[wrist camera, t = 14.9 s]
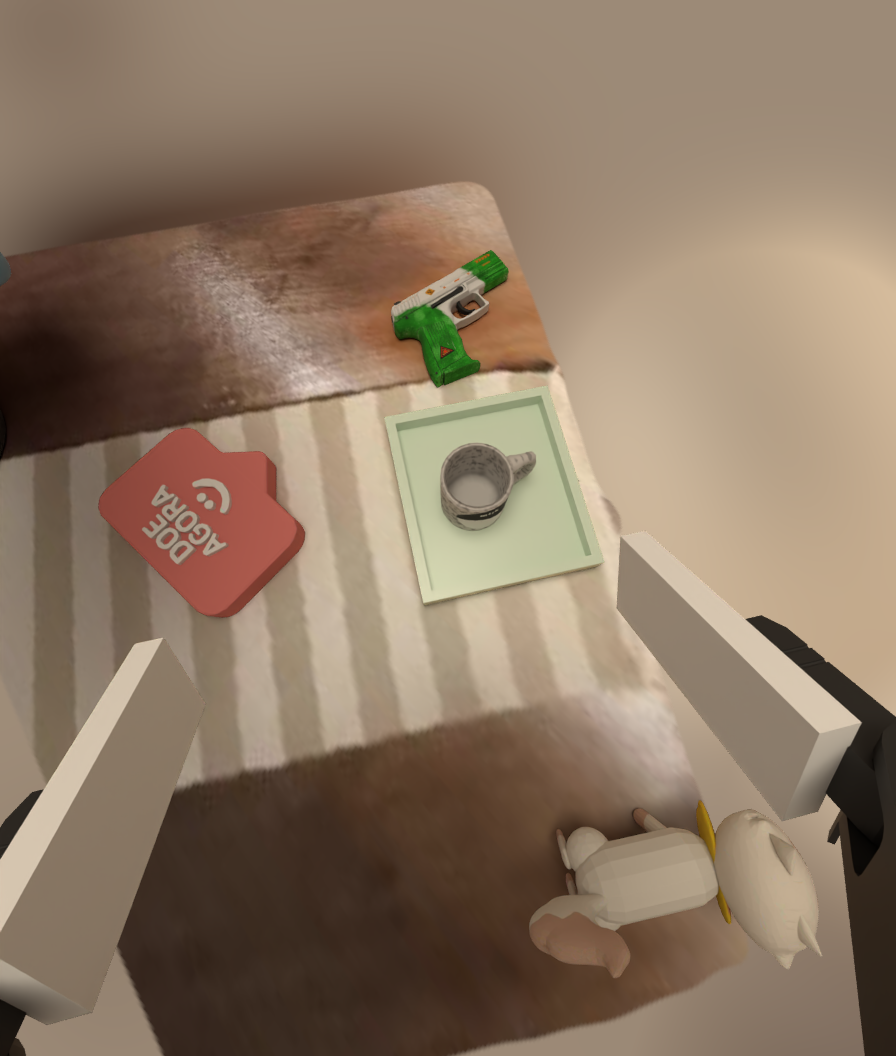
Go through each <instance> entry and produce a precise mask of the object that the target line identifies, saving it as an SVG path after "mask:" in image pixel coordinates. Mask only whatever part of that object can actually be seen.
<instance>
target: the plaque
mask: <svg viewBox="0 0 896 1056" xmlns="http://www.w3.org/2000/svg"><path fill="white" fill-rule="evenodd" d="M98 508H99V511H100V514H101V516H102V517H103V518H104V519H105V520H106V521H107V522H108V523H109V524H110V525H111V526H112V527H113V528H114V529H115V530H116V531H117V532H118V533H119V534H120V535H121V536H122V537H123V538H124V539H125V540H126V541H127V542H128V543H129V544H130V545H131V546H132V547H133V548H134V549H135V550H136V551H137V552H138V553H139V554H140V555H141V556H142V557H143V558H144V559H145V560H146V561H147V562H148V563H149V564H150V565H151V566H152V567H153V568H154V569H155V570H156V571H157V572H158V573H159V574H160V575H161V576H162V577H163V578H164V579H165V580H166V581H167V582H168V583H169V584H170V585H171V586H172V587H173V588H174V589H175V590H176V591H177V592H178V593H179V594H180V595H181V596H182V597H183V598H184V599H185V600H186V601H187V602H188V603H189V604H190V605H191V606H192V607H193V608H194V609H195V610H196V611H197V612H200V613H202V614H204V615H207V616H214V617H229V616H232V615H234V614H236V613H237V612H238V611H240V610H241V609H242V608H243V607H244V606H245V605H246V604H247V603H248V602H249V601H250V600H251V599H252V598H253V597H254V596H255V595H256V594H257V593H258V592H259V591H260V590H261V589H262V588H263V587H264V586H265V585H266V584H267V583H268V582H269V581H270V580H271V579H272V578H273V577H274V576H275V575H276V574H277V573H278V572H279V571H280V570H281V569H282V568H283V567H284V566H285V565H286V564H287V563H288V561H289V560H290V559H291V558H292V557H293V556H294V555H295V554H296V553H297V552H298V551H299V550H300V548H301V547H302V545H303V542H304V539H305V531H304V529H303V527H302V525H301V524H300V523H299V522H298V521H296V520H295V519H294V518H293V517H292V516H291V515H290V514H289V513H288V512H287V511H286V510H285V509H284V508H282V507H281V506H280V505H279V504H278V503H277V502H276V467H275V465H274V464H273V463H272V461H271V460H270V459H269V458H268V457H267V456H266V455H265V454H264V453H263V452H260V451H254V452H232V453H222V452H220V451H219V450H218V449H217V448H216V447H214V446H213V445H212V444H211V443H210V442H209V441H208V440H207V439H205V438H204V437H203V436H202V435H201V434H200V433H199V432H197V431H196V430H194V429H191V428H182V429H178V430H175V431H173V432H172V433H170V434H168V435H167V436H166V437H165V438H164V439H163V440H162V441H160V442H159V443H158V444H157V445H156V446H155V447H154V448H152V449H151V450H150V451H149V452H148V453H147V454H146V455H144V456H143V457H142V458H141V459H140V460H139V461H137V462H136V463H135V464H134V465H133V466H132V467H131V468H129V469H128V470H127V471H126V472H125V473H124V474H123V475H121V476H120V477H119V478H118V479H117V480H116V481H115V482H113V483H112V484H111V485H110V486H109V487H108V488H107V489H106V490H105V491H104V492H103V494H102V495H101V497H100V500H99V506H98Z"/></svg>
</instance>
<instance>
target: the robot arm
mask: <svg viewBox="0 0 896 1056" xmlns="http://www.w3.org/2000/svg"><path fill="white" fill-rule="evenodd" d="M10 275H11V269H10V266H9V264H8V262H7V260H6V259H5V257H4V256H3V255H2V254H1V252H0V286H1V285H3V284H4V283H6V282H7V281H8V279H9V278H10ZM5 434H6V429H5V421H4V418H3V415H2V412H1V410H0V455H1V453H2V450H3V447H4V442H5ZM617 609H618V611H619V612H620V613H621V614H622V616H623V617H624V618H625V620H626V621H627V622H628V623H629V625H630V626H631V627H632V629H633V630H634V631H635V632H636V634H637V635H638V636H639V638H640V639H641V640H642V641H643V643H644V644H645V645H646V647H647V648H648V649H649V650H650V652H651V653H652V654H653V656H654V657H655V658H656V659H657V661H658V662H659V663H660V665H661V666H662V667H663V668H664V670H665V671H666V672H667V674H668V675H669V676H670V678H671V679H672V680H673V681H674V683H675V684H676V685H677V686H678V688H679V689H680V690H681V692H682V693H683V694H684V696H685V697H686V698H687V699H688V701H689V702H690V703H691V705H692V706H693V707H694V708H695V710H696V711H697V712H698V713H699V715H700V716H701V717H702V719H703V720H704V721H705V723H706V724H707V725H708V726H709V728H710V729H711V730H712V732H713V733H714V734H715V735H716V736H717V738H718V739H719V741H720V742H721V743H722V745H723V746H724V747H725V748H726V750H727V751H728V752H729V754H730V755H731V756H732V757H733V759H734V760H735V761H736V763H737V764H738V765H739V766H740V768H741V769H742V770H743V772H744V773H745V774H746V775H747V777H748V778H749V779H750V780H751V782H752V783H753V784H754V786H755V787H756V788H757V790H758V791H759V792H760V793H761V795H762V796H763V797H764V799H765V800H766V801H767V802H768V804H769V805H770V806H771V807H772V809H773V810H774V811H775V813H776V814H777V815H778V817H779V818H780V819H781V820H782V821H785V820H789V819H792V818H796V817H800V816H803V815H807V814H810V813H814V812H818V810H819V808H820V806H821V804H822V802H823V800H824V798H825V796H826V794H827V795H828V796H829V797H830V798H831V799H832V801H833V802H834V803H835V804H836V805H837V806H838V807H839V808H840V809H841V810H840V812H839V814H838V816H837V818H836V820H835V822H834V823H833V825H832V827H831V829H830V831H829V836H828V841H827V842H830V843H832V844H835V843H836V841H837V839H838V838H839V836H840V839H841V849H842V857H843V865H844V875H845V884H846V893H847V902H848V911H849V919H850V928H851V937H852V945H853V954H854V963H855V972H856V981H857V989H858V999H859V1008H860V1016H861V1025H862V1034H863V1043H864V1052H865V1056H896V717H895V716H894V715H893V714H892V713H890V712H889V711H888V710H886V709H885V708H884V707H883V706H882V705H880V704H879V703H878V702H876V700H874V699H873V698H872V697H871V696H870V695H868V694H867V693H866V692H865V691H863V690H862V689H861V688H860V687H859V686H857V685H856V684H855V683H854V682H852V681H851V680H850V679H849V678H848V677H846V676H845V675H844V674H843V673H841V672H840V671H839V670H838V669H837V668H835V667H834V666H833V665H832V664H830V663H829V662H825V660H824V658H823V657H822V656H821V655H819V654H818V653H817V652H816V651H815V650H813V649H812V648H808V646H807V644H806V643H805V642H804V641H802V640H801V639H800V638H799V637H797V636H796V635H795V634H794V633H793V632H791V631H790V630H789V629H788V628H786V627H784V626H782V625H780V624H778V623H776V622H774V621H772V620H770V619H768V618H766V617H764V616H762V615H761V616H756V617H752V618H748V619H744V618H743V617H742V616H741V615H740V614H739V613H738V612H736V611H735V610H734V609H733V608H732V607H731V606H730V605H728V604H727V603H726V602H725V601H724V600H723V599H722V598H721V597H719V596H718V595H717V594H716V593H715V592H714V591H713V590H712V589H710V588H709V587H708V586H707V585H706V584H705V583H704V582H702V581H701V580H700V579H699V578H698V577H697V576H696V575H695V574H693V573H692V572H691V571H690V570H689V569H688V568H687V567H686V566H684V565H683V564H682V563H681V562H680V561H679V560H678V559H677V558H675V557H674V556H673V555H672V554H671V553H670V552H669V551H667V550H666V549H665V548H664V547H663V546H662V545H661V544H660V543H658V542H657V541H656V540H655V539H654V538H653V537H652V536H650V535H649V534H648V533H647V532H646V531H642V532H637V533H633V534H628V535H624V536H621V537H620V555H619V574H618V592H617ZM205 705H206V704H205V702H204V701H203V699H202V697H201V696H200V694H199V693H198V691H197V690H196V688H195V686H194V685H193V683H192V682H191V680H190V678H189V677H188V675H187V674H186V672H185V671H184V669H183V667H182V666H181V664H180V663H179V661H178V659H177V658H176V656H175V655H174V653H173V652H172V650H171V648H170V647H169V645H168V644H167V642H166V640H165V639H164V638H159V639H155V640H150V641H146V642H141V643H136V644H134V646H133V648H132V649H131V651H130V652H129V654H128V656H127V657H126V659H125V660H124V662H123V664H122V665H121V667H120V668H119V670H118V672H117V673H116V675H115V676H114V678H113V680H112V681H111V683H110V684H109V686H108V688H107V689H106V691H105V692H104V694H103V696H102V697H101V699H100V700H99V702H98V704H97V705H96V707H95V708H94V710H93V712H92V713H91V715H90V716H89V718H88V720H87V721H86V723H85V725H84V726H83V728H82V729H81V731H80V733H79V734H78V736H77V737H76V739H75V741H74V742H73V744H72V745H71V747H70V749H69V750H68V752H67V753H66V755H65V757H64V758H63V760H62V761H61V763H60V765H59V766H58V768H57V769H56V771H55V773H54V774H53V776H52V777H51V779H50V781H49V782H48V784H47V785H46V787H45V789H43V790H39V791H35V792H32V793H31V794H30V795H29V796H28V797H27V798H26V799H25V800H24V801H23V802H22V803H21V804H20V805H19V806H18V807H17V809H15V810H14V811H13V812H12V814H11V815H10V816H9V817H8V818H7V819H6V820H5V821H4V823H3V824H2V826H1V827H0V1056H26V1054H25V1049H24V1048H23V1046H22V1044H21V1042H20V1041H19V1039H16V1038H15V1037H16V1035H17V1033H18V1031H19V1029H20V1026H21V1024H22V1022H23V1020H24V1017H25V1015H28V1016H30V1017H32V1018H34V1019H36V1020H38V1021H40V1022H42V1023H44V1024H46V1025H49V1024H53V1023H56V1022H60V1021H63V1020H67V1019H71V1018H74V1017H78V1016H82V1015H85V1014H89V1013H92V1012H93V1009H94V1006H95V1003H96V1001H97V998H98V995H99V993H100V990H101V987H102V984H103V982H104V979H105V976H106V974H107V971H108V968H109V965H110V963H111V960H112V957H113V955H114V952H115V949H116V946H117V944H118V941H119V938H120V936H121V933H122V930H123V927H124V925H125V922H126V919H127V917H128V914H129V911H130V908H131V906H132V903H133V900H134V898H135V895H136V892H137V889H138V887H139V884H140V881H141V879H142V876H143V873H144V870H145V868H146V865H147V862H148V860H149V857H150V854H151V851H152V849H153V846H154V843H155V841H156V838H157V835H158V832H159V830H160V827H161V824H162V822H163V819H164V816H165V813H166V811H167V808H168V805H169V802H170V800H171V797H172V794H173V792H174V789H175V786H176V783H177V781H178V778H179V775H180V773H181V770H182V767H183V764H184V762H185V759H186V756H187V754H188V751H189V748H190V745H191V743H192V740H193V737H194V735H195V732H196V729H197V726H198V724H199V721H200V718H201V716H202V713H203V710H204V707H205Z"/></svg>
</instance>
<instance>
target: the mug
mask: <svg viewBox="0 0 896 1056" xmlns="http://www.w3.org/2000/svg"><path fill="white" fill-rule="evenodd" d="M535 464H536V455H535V453H533V452H532V451H530V452H526V453H522V454H517V455H509V456H507V457H506V456H505V455H504V454H503V453H502V452H501V451H500V450H499V449H497V448H495V447H493V446H491V445H488V444H484V443H468V444H465V445H462V446H460V447H458V448H456V449H455V450H453V451H452V452H451V453H450V454H449V455H448V456H447V458H446V459H445V460H444V463H443V465H442V468H441V474H440V495H441V507H442V510H443V513H444V515H445V516H446V518H447V519H448V520H449V521H450V522H451V523H452V524H453V525H455V526H456V527H458V528H461V529H463V530H468V531H477V530H482V529H485V528H487V527H489V526H491V525H492V524H494V523H495V522H496V521H497V519H498V518H499V517H500V515H501V513H502V511H503V508H504V506H505V504H506V501H507V499H508V497H509V494H510V492H511V490H512V487H513V485H514V484H515V483H516V482H518V481H519V480H521V479H522V478H524V477H526V476H527V475H528V474H529V473H530V472H531V471H532V470H533V468H534V466H535Z"/></svg>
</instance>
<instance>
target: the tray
mask: <svg viewBox="0 0 896 1056" xmlns="http://www.w3.org/2000/svg"><path fill="white" fill-rule="evenodd" d="M384 418H385V423H386V428H387V432H388V437H389V442H390V447H391V452H392V456H393V461H394V466H395V471H396V475H397V480H398V485H399V490H400V495H401V499H402V504H403V509H404V514H405V518H406V523H407V528H408V533H409V538H410V542H411V547H412V552H413V557H414V561H415V566H416V571H417V576H418V580H419V585H420V590H421V595H422V600H423V604H424V606H425V605H429V604H433V603H438V602H442V601H447V600H451V599H456V598H460V597H464V596H469V595H473V594H478V593H482V592H487V591H491V590H495V589H500V588H504V587H509V586H513V585H518V584H522V583H526V582H531V581H535V580H540V579H544V578H549V577H553V576H557V575H562V574H566V573H571V572H575V571H580V570H584V569H588V568H593V567H597V566H599V565H601V564H602V563H604V559H603V556H602V553H601V550H600V547H599V544H598V540H597V537H596V534H595V531H594V528H593V525H592V522H591V519H590V516H589V513H588V509H587V506H586V503H585V500H584V497H583V494H582V491H581V488H580V485H579V482H578V478H577V475H576V472H575V469H574V466H573V463H572V460H571V457H570V454H569V451H568V447H567V444H566V441H565V438H564V435H563V432H562V429H561V426H560V423H559V420H558V416H557V413H556V410H555V407H554V404H553V401H552V398H551V395H550V392H549V389H548V386H543V387H537V388H532V389H527V390H522V391H517V392H512V393H506V394H501V395H496V396H491V397H486V398H481V399H476V400H470V401H465V402H460V403H455V404H450V405H445V406H439V407H434V408H429V409H424V410H419V411H414V412H408V413H403V414H398V415H393V416H388V417H384ZM468 443H484V444H488V445H491V446H493V447H495V448H497V449H499V450H500V451H501V452H502V453H503V454H504V455H505V456H506V457H507V456H509V455H517V454H522V453H526V452H530V451H532V452H533V453H535V455H536V464H535V466H534V468H533V470H532V471H531V472H530V473H529V474H528V475H527V476H526V477H524V478H522V479H521V480H519V481H518V482H516V483H515V484H514V485H513V487H512V490H511V492H510V494H509V497H508V499H507V501H506V504H505V506H504V508H503V511H502V513H501V515H500V517H499V518H498V519H497V521H496V522H495V523H494V524H492V525H491V526H489V527H487V528H485V529H482V530H477V531H468V530H463V529H461V528H458V527H456V526H455V525H453V524H452V523H451V522H450V521H449V520H448V519H447V518H446V516H445V515H444V513H443V510H442V507H441V495H440V474H441V468H442V465H443V463H444V460H445V459H446V458H447V456H448V455H449V454H450V453H451V452H452V451H453V450H455V449H456V448H458V447H460V446H462V445H465V444H468Z"/></svg>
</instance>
